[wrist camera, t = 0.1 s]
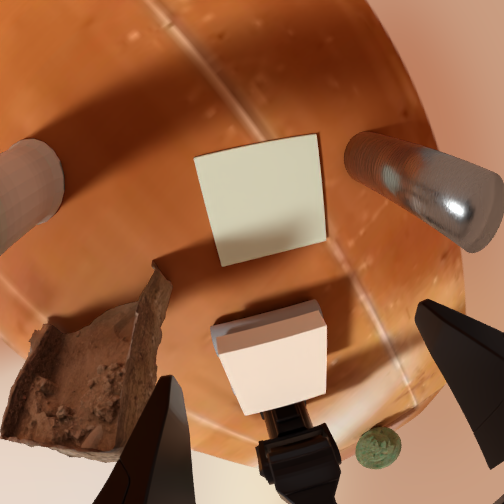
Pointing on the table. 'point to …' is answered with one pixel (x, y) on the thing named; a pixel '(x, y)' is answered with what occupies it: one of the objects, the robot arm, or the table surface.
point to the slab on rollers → (274, 356)
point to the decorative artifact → (378, 448)
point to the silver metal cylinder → (430, 186)
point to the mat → (263, 197)
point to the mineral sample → (90, 380)
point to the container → (28, 188)
